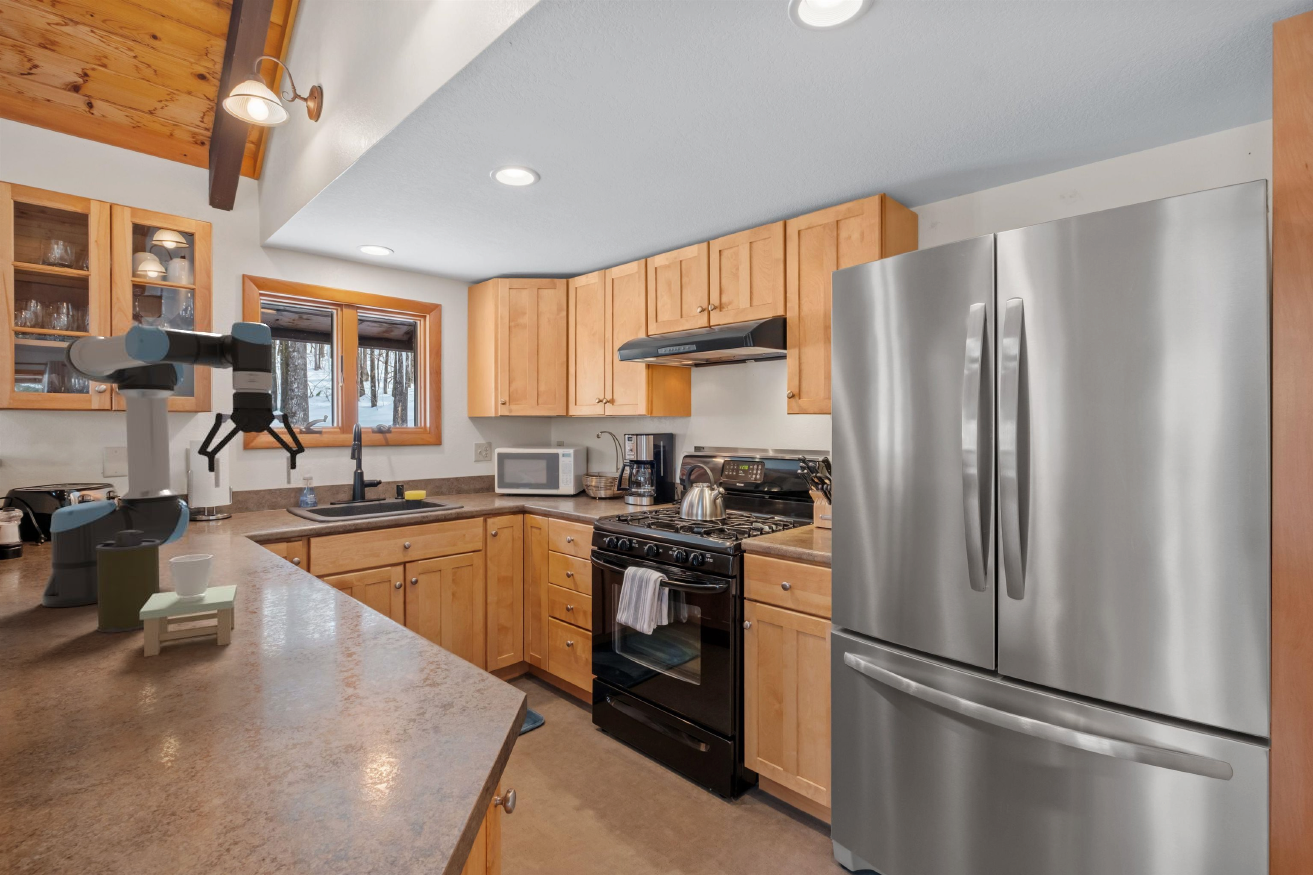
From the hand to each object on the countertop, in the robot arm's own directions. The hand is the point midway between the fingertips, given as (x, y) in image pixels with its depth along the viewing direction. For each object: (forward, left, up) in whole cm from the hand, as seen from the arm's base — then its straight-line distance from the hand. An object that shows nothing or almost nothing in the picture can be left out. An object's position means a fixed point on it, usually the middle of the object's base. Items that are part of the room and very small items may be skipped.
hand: (253, 485), depth 141 cm
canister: (-3, -23, -29) cm, 37 cm away
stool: (+16, -10, -29) cm, 34 cm away
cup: (+16, -10, -20) cm, 28 cm away
